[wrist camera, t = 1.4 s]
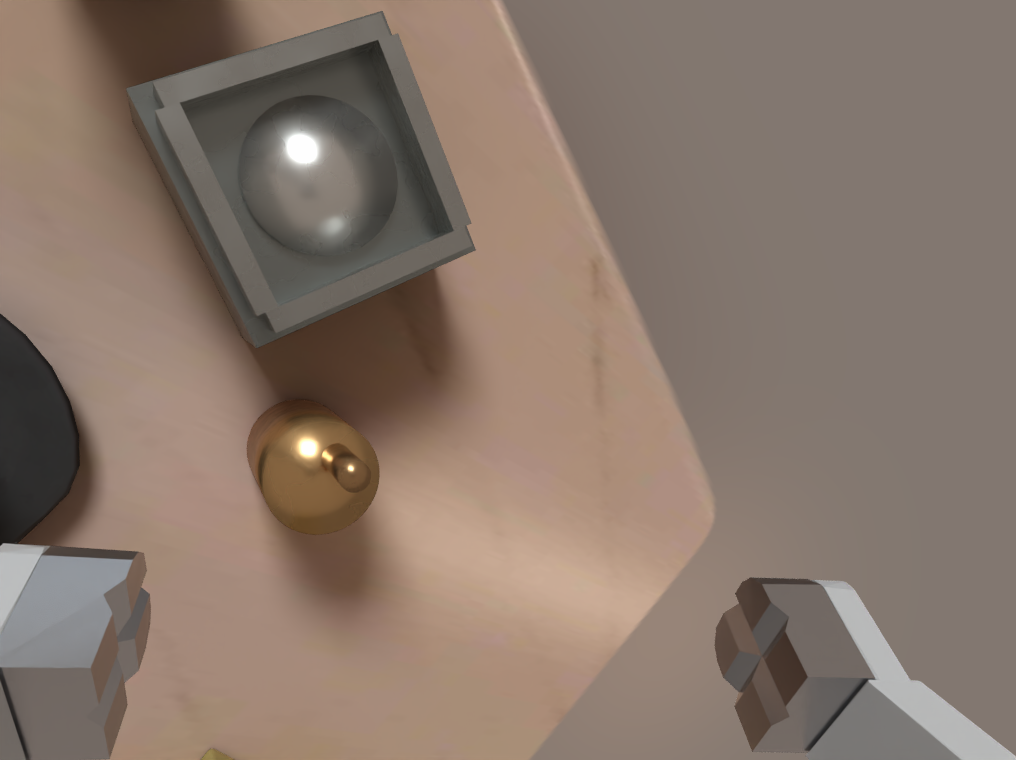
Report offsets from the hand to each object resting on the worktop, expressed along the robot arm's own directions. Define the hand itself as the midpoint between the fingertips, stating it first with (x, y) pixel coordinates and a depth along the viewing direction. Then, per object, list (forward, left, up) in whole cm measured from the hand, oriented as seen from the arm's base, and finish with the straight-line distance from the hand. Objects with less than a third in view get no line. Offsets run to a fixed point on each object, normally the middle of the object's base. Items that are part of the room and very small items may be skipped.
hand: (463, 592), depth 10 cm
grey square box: (+7, +7, -34) cm, 35 cm away
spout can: (+1, -6, -34) cm, 34 cm away
